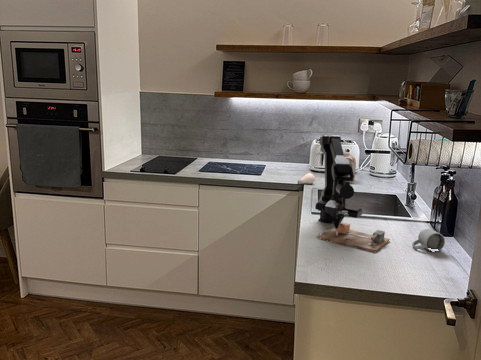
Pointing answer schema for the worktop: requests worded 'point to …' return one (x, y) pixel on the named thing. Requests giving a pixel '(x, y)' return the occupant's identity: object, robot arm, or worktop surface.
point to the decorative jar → (352, 163)
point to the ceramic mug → (429, 240)
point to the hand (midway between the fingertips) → (336, 228)
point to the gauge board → (357, 239)
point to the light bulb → (307, 179)
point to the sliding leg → (343, 228)
